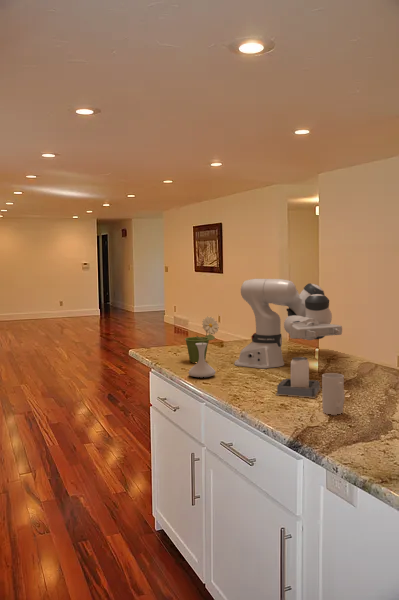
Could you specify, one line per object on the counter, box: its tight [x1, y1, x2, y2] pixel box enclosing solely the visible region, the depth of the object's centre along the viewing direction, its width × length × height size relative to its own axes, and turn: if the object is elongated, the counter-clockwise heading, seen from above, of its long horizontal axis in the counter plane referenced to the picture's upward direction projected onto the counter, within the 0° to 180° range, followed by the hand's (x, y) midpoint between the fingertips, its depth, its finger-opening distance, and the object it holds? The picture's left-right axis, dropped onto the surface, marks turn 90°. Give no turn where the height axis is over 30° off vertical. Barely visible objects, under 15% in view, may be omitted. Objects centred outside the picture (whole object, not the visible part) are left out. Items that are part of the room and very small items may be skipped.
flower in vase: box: [188, 316, 219, 379], centre depth 225 cm, size 13×11×25 cm
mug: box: [321, 372, 345, 416], centre depth 171 cm, size 10×7×12 cm, turn 15°
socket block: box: [275, 378, 322, 399], centre depth 198 cm, size 14×14×3 cm
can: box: [290, 356, 310, 388], centre depth 197 cm, size 6×6×12 cm
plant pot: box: [184, 336, 210, 364], centre depth 254 cm, size 12×12×11 cm
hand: (327, 333), depth 205 cm, fingers open, 8 cm apart
